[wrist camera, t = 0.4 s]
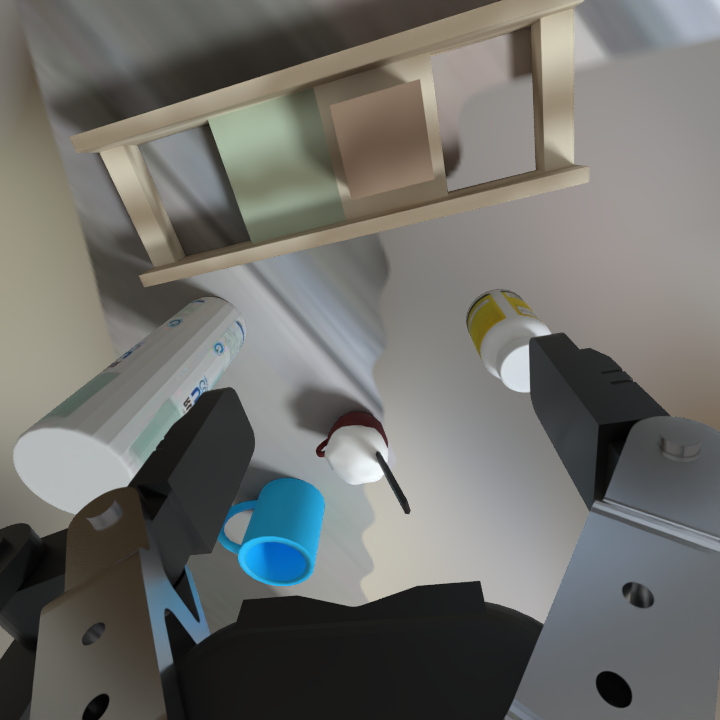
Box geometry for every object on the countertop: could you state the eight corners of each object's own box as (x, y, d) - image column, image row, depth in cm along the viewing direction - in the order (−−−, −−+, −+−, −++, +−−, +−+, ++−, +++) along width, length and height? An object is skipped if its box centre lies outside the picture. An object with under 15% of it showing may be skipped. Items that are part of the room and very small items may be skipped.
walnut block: (337, 111, 28) (329, 105, 24) (415, 88, 27) (419, 79, 23) (356, 193, 31) (351, 200, 27) (427, 174, 30) (434, 179, 26)
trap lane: (108, 138, 32) (69, 137, 28) (561, -3, 26) (592, -29, 22) (170, 272, 37) (144, 287, 33) (563, 177, 31) (589, 182, 27)
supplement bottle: (467, 346, 38) (490, 405, 30) (463, 293, 36) (487, 339, 27) (526, 338, 38) (567, 395, 29) (525, 282, 35) (571, 327, 27)
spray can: (197, 280, 37) (24, 405, 19) (260, 319, 38) (152, 466, 21) (171, 333, 40) (-1, 484, 22) (231, 367, 41) (114, 534, 23)
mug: (325, 481, 48) (315, 540, 41) (324, 527, 52) (313, 589, 44) (226, 471, 48) (197, 528, 41) (231, 518, 52) (206, 578, 45)
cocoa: (321, 442, 46) (294, 534, 35) (322, 397, 42) (294, 484, 32) (404, 453, 45) (402, 550, 35) (412, 408, 42) (413, 500, 32)
